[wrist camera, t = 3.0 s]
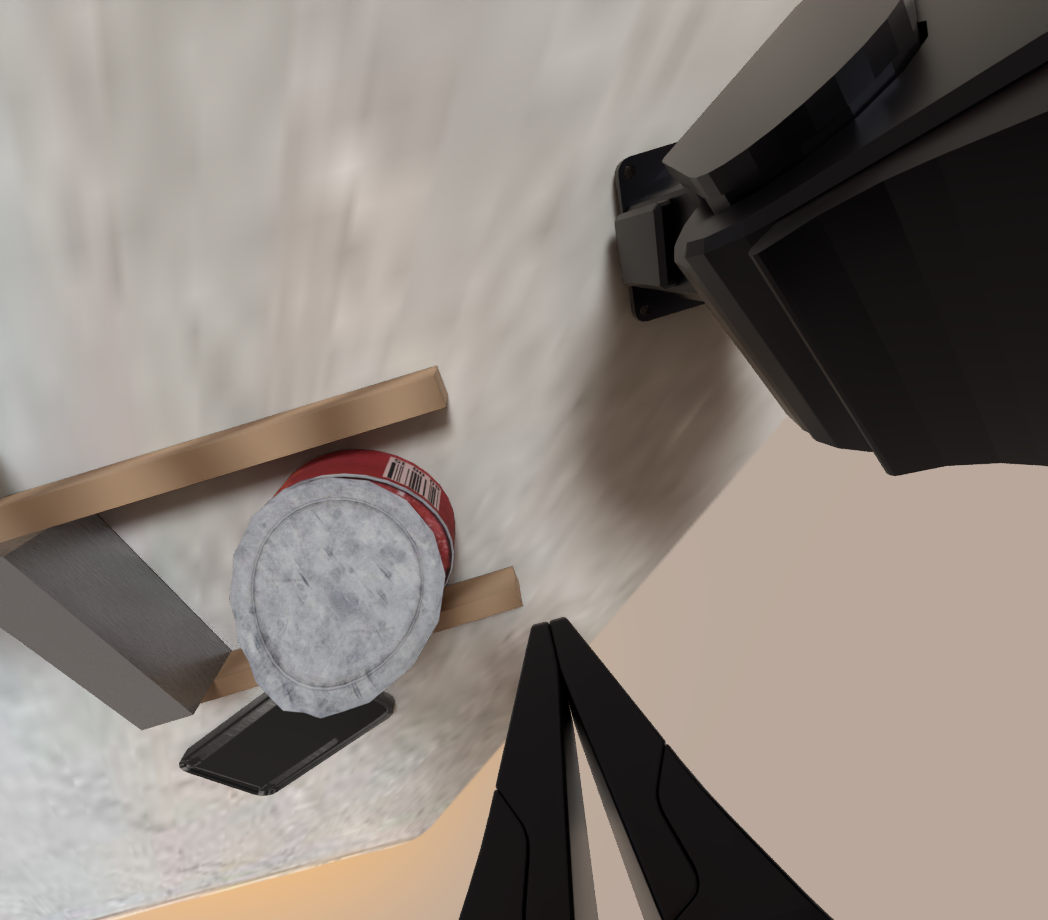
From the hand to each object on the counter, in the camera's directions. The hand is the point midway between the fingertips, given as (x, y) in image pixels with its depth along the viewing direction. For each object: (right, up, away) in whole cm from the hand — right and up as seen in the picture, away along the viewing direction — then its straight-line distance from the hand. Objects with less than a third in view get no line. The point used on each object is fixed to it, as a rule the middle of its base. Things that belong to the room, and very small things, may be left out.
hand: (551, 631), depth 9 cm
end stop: (-23, -4, +13) cm, 26 cm away
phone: (-18, -16, +21) cm, 32 cm away
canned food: (-10, 0, +13) cm, 17 cm away
